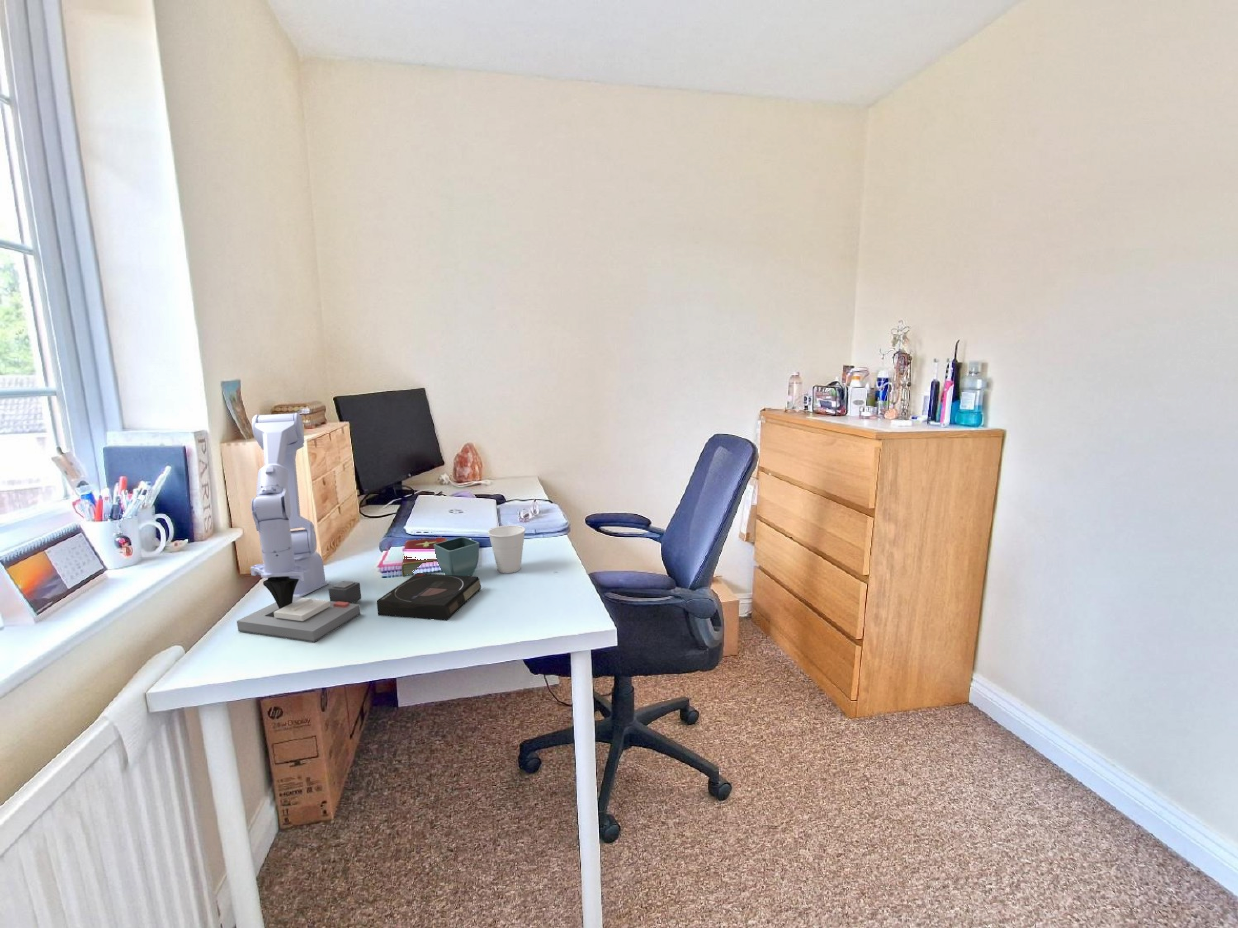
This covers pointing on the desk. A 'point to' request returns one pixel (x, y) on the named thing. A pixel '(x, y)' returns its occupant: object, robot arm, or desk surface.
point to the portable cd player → (429, 596)
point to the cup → (507, 547)
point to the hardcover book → (412, 564)
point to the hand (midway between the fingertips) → (285, 608)
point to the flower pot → (457, 556)
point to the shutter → (302, 609)
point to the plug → (345, 592)
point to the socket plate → (299, 622)
